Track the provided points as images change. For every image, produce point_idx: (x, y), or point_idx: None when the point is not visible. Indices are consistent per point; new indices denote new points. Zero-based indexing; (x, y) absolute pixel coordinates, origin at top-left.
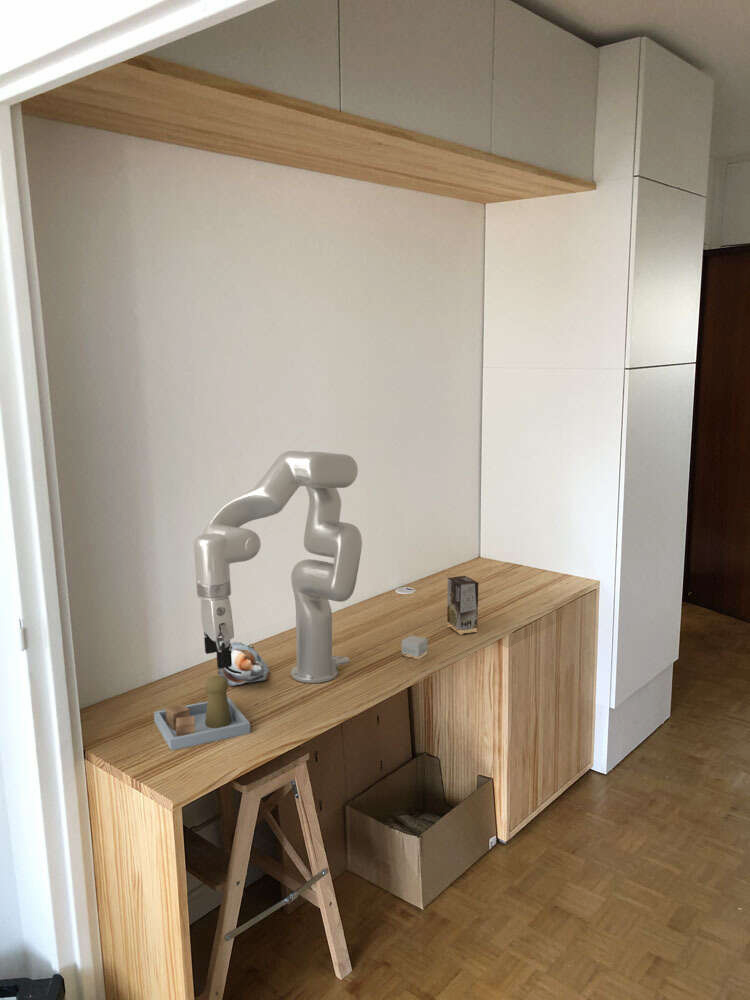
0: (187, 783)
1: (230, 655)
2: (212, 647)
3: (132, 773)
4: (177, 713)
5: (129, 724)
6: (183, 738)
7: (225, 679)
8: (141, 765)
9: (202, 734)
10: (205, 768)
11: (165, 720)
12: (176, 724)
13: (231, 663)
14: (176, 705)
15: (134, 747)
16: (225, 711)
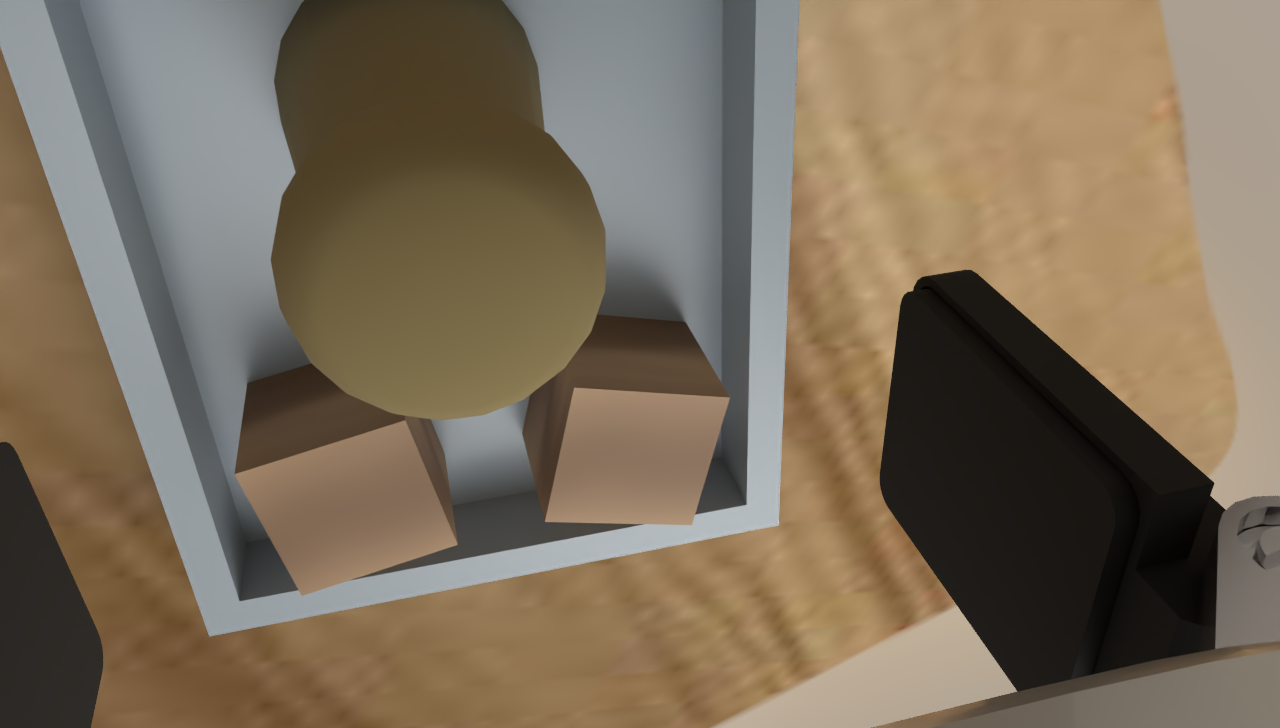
0: (1136, 395)
1: (1104, 405)
2: (32, 643)
3: (868, 639)
4: (444, 510)
5: (182, 702)
6: (779, 443)
7: (500, 177)
8: (807, 606)
9: (784, 311)
10: (1048, 286)
11: (234, 508)
12: (672, 523)
13: (988, 290)
14: (264, 519)
15: (564, 651)
16: (527, 75)
